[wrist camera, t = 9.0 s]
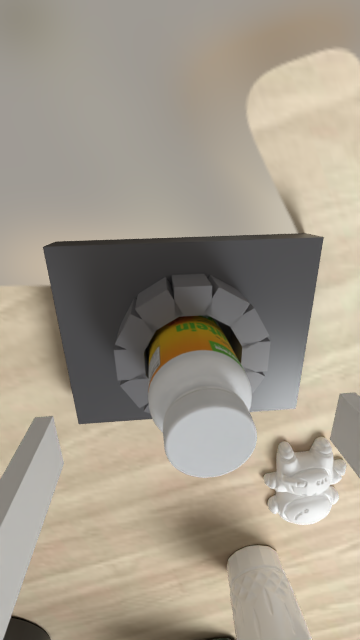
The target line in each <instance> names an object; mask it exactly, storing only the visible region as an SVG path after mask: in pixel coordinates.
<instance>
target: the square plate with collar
mask: <svg viewBox="0 0 360 640" xmlns="http://www.w3.org/2000/svg"><path fill="white" fill-rule="evenodd" d="M323 238H324V237H320V236H315V235H311V234H306V233H302V234H274V235H273V234H272V235H243V236H216V237H215V236H212V237H184V238H183V237H182V238H152V239H124V240H92V241H63V242H54V243H52V244H49V245H46V246H44V247H43V249H44V254H45V259H46V264H47V269H48V274H49V279H50V284H51V289H52V294H53V299H54V304H55V309H56V314H57V319H58V324H59V329H60V334H61V339H62V343H63V348H64V353H65V358H66V363H67V368H68V373H69V378H70V383H71V388H72V393H73V398H74V403H75V408H76V413H77V418H78V423H79V424H87V423H101V422H115V421H129V420H143V419H152V416H151V414H150V409H149V402H148V382H149V342H150V340H151V338H152V337H153V335H154V333H155V331H156V330H158V329H159V328H161V327H163V326H164V325H166V324H168V323H169V322H171V321H173V320H174V319H176V318H178V317H180V316H200V315H208V316H210V317H212V318H214V319H215V320H216V321H217V323H218V324H219V326H220V327H221V329H222V331H223V333H224V335H225V336H226V338H227V340H228V342H229V344H230V346H231V347H232V349H233V351H234V353H235V355H236V357H237V358H238V360H239V362H240V364H241V366H242V367H243V369H244V371H245V373H246V375H247V377H248V379H249V382H250V386H251V392H252V401H251V407H250V410H249V412H255V411H269V410H283V409H296V404H297V398H298V392H299V386H300V380H301V373H302V367H303V361H304V355H305V349H306V343H307V336H308V330H309V324H310V318H311V312H312V306H313V299H314V293H315V287H316V281H317V275H318V269H319V262H320V256H321V250H322V244H323Z"/></svg>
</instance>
